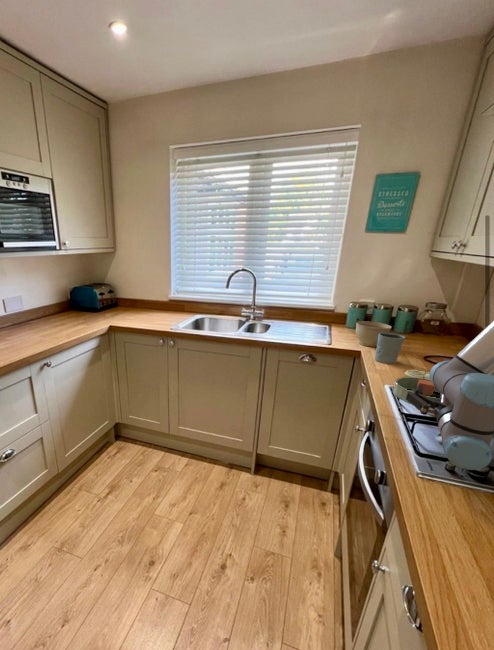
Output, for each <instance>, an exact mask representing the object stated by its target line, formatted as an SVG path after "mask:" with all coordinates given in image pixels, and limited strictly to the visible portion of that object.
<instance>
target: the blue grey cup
mask: <svg viewBox="0 0 494 650" xmlns="http://www.w3.org/2000/svg"><path fill="white" fill-rule="evenodd" d="M405 340H406V336H404V335H401V334H398V333H392V332H389V333H379V335H378V342H377V347H375V348H376V349H375V354H374V360H375V361H376V362H378V363H382V364H386V363H387V364H388V365H393V364H396V363H397V361H398V357H399V355H400V352H401V349H402V346H403V345H404V343H405Z"/></svg>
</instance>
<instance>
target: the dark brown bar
mask: <svg viewBox="0 0 494 650" xmlns="http://www.w3.org/2000/svg"><path fill="white" fill-rule="evenodd" d="M440 402H442V403H444V404H446V405H450V406H453V404H452V403H451V402H450V401H449V400H448V399H447V398H446V397H445V396H444V395H443V394H442V393H441V394H440Z"/></svg>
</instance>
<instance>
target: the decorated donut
mask: <svg viewBox="0 0 494 650" xmlns="http://www.w3.org/2000/svg"><path fill="white" fill-rule="evenodd" d="M403 375H404V377H417V378H424V379H429V380H430V371H426V370H419V369H408V370H406V371H405V372H404V373H403Z"/></svg>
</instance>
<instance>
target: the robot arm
mask: <svg viewBox="0 0 494 650" xmlns="http://www.w3.org/2000/svg"><path fill="white" fill-rule="evenodd" d="M493 372H494V320H493V321H492V322H490V324H488V325H487V326H486V327H485V328H484V329H483V330H482V331H481V332H479V334H478V335H477V336H475V338H474V339H472V340H471V341H470V342H469V343H468V344H467V345H466V346H465V347H463V349H461V350H460V351H459V352H458V354H456V355H455V356H454V357H453V358H451V360H443V361H440V362H438V363H436V364H435V365H433V366H432V367H431V368H430V371H429V373H430V380H431V382H432V383H433V385H434V386H435V388H436V389H437V390H438V391H439V392H441V393H442V394H443V395H444V396H445V397H446V398H447V399H448V400H449V401H450V402H451V403H452V404H453V406H450V405H446V404H444V403H442V402H440V401H439V402H436V401H434V400H432V399H431V398H429V397H427V396H425V395H423V390H422V385H418V388H417V390H414V392H410V391H408V393H407V396H406V400H407V401H408V402H410V403H411V406H413V407H414V408H416V409H417V410H418V411H419V413H420V414H421V415H424V416H426V415H427V414H432V415H434V416H435V418H436V423H437V426H438V430H439V434H440V438H441V441H442V442H441V443H442V450H443V452H444V454H445V456H446V458H447V460H448V461H449V462H450V463H451V464H452V465H453V466H455V467H457V468H459V469H463V470H467V471H477V470H481V469H484V468H486V467H487V466H488V465H489V464H490V463H491V461H492V458H493V452H492V448H491V445H490V444H491V442H492V439H493V437H494V375H492V373H493ZM410 403H409V404H410Z"/></svg>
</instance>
